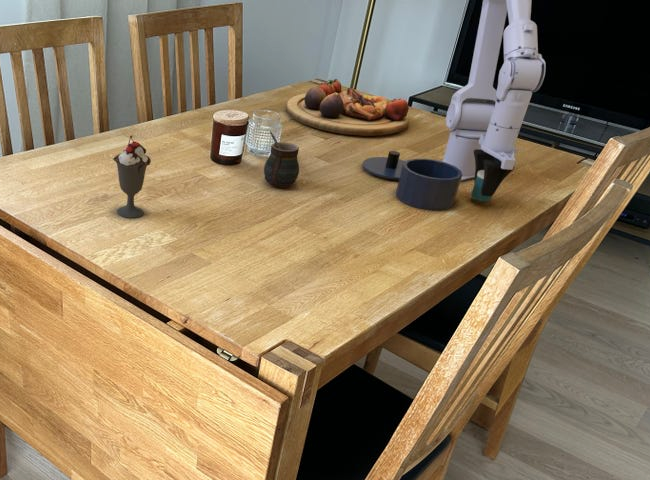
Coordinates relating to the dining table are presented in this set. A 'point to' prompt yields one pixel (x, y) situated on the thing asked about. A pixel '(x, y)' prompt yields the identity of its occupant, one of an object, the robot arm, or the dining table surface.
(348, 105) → the wooden plate
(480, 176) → the tub
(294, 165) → the mate gourd
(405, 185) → the dark blue round container
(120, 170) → the sundae
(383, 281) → the dining table surface
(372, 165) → the lid
